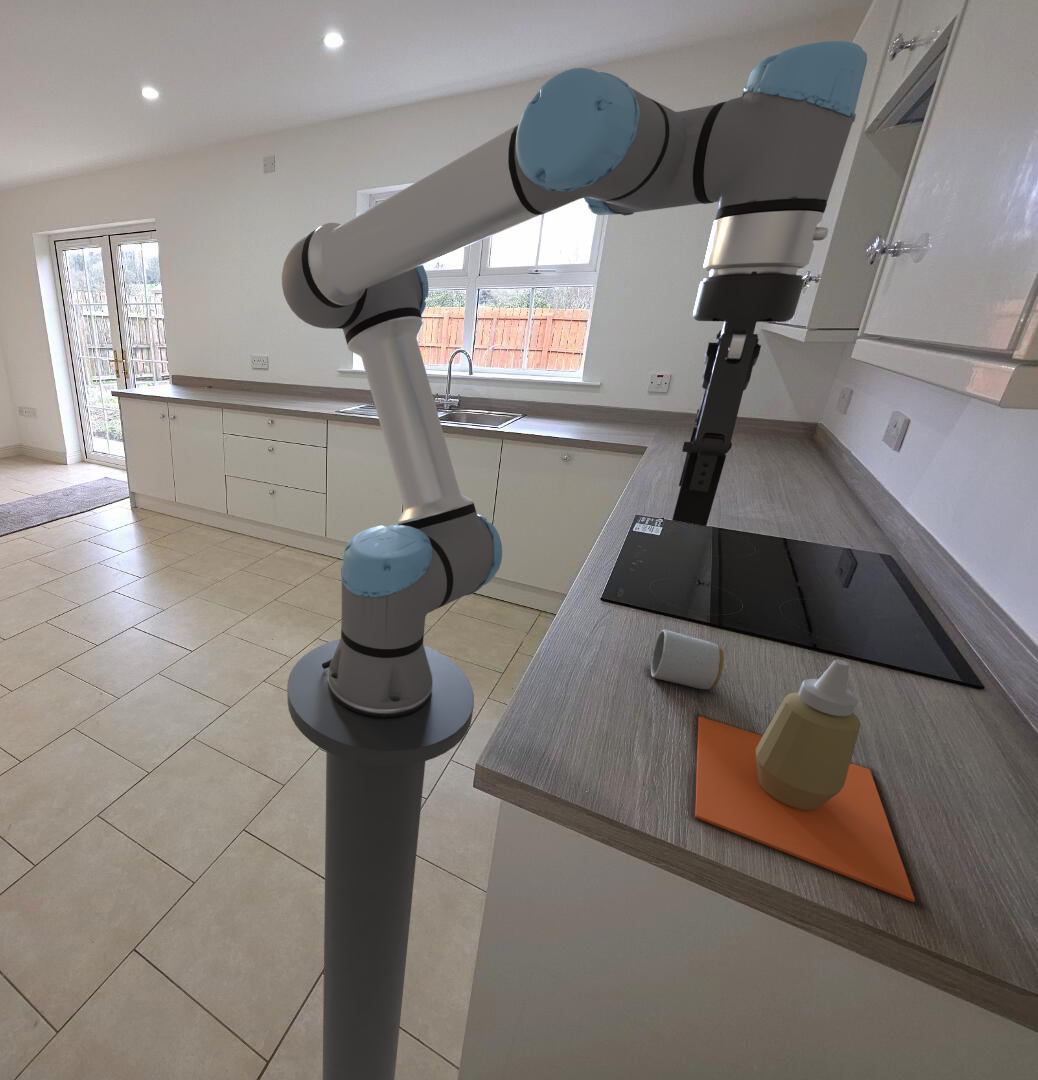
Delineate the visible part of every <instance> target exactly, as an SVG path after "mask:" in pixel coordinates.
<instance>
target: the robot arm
mask: <svg viewBox="0 0 1038 1080" xmlns="http://www.w3.org/2000/svg"><path fill="white" fill-rule="evenodd" d="M867 63H868V53H867V52H866V51H864V49H863V48H862V47H861V45H860V44H857V43H856V42H851V41H846V40H827V41H826V40H825V41H819V42H811V43H807V44H802V45H798V46H794V47H791V48H787V49H784V50H782V51H781V52H780V53H779V54H774V55H771V56H768V57H766V58H763V60H761V61H760V62H759V63H758V64H757V65H755V67H754V68H753V69H752V71H751V72H750V74H749V75H748V80H747V84H746V85H745V86H744V87H743V90H742V95H741V96H739V97H734V98H731V99H728V100H727V101H726V100H725V101H722V102H718V103H715V104H710V105H705V106H700V107H696V108H691V109H685V110H681V111H676V110H673V109H672V108H670V107H668V106H666V105H664V104H661V103H660V102H658V101H656V100H655V99H652V98H650V97H648V96H646V95H645V94H643V93H641V92H639V91H638V90H636V89H635V88H632V86H630V85H629V84H628V83H627V82H626V81H624V80H623V79H621V78H620V77H618V76H617V75H614V74H612V73H608V72H604V71H597V70H595V69H592V68H585V67H574V68H570V69H567V70H564V71H562V72H559V73H558V74H556V75H554V76H552V77H551V78H549V80H547V81H546V82H545V83H544V84H542V85H541V86H540V88H539V91H537V93H536V94H535V95H534V97H533V98H532V99H531V101H530V102H528V103H527V105H526V107H525V109H524V110H523V112H522V115H521V118H520V121H519V123H517V124H516V125H514V126H513V127H510V128H509V129H507V130H505V131H503V132H501V133H500V134H498V135H497V136H495V137H493V138H491V139H490V140H488V141H485V142H484V143H482V144H481V145H479V146H477V147H476V148H474V149H472V150H471V151H468V152H467V153H465V154H463V155H462V156H460V157H458V158H456V159H455V160H453V161H451V162H449V163H448V164H446V165H444V166H442V167H441V168H439V169H437V170H435V171H433V172H431V173H430V174H428V175H426V176H425V177H423V178H421V179H419V180H418V181H416V182H414V183H413V184H411V185H409V186H407V187H406V188H404V189H402V190H400V191H399V192H397V193H395V194H393V195H392V196H390V197H388V198H386V199H385V200H383V201H381V202H380V203H377V204H376V205H374V206H372V207H370V208H369V209H367V210H365V211H364V212H362V213H360V214H358V215H357V216H355V217H353V218H351V219H350V220H348V221H346V222H344V223H343V224H341V223H338V222H327V223H324V224H322V225H321V226H319V227H317V228H316V229H314V230H312V231H310V232H308V233H307V234H306V235H304V236H303V237H301V239H299V240H298V241H297V242H296V243H295V244H294V245H293V246H292V248H291V249H290V250H289V251H288V254H287V255H286V258H285V260H284V262H283V267H282V272H281V288H282V292H283V296H284V299H285V301H286V303H287V305H288V306H289V308H290V310H291V311H292V312H293V313H294V315H295V316H296V317H297V318H298V319H300V320H301V321H303V322H304V323H305V324H308V325H310V326H312V327H315V328H320V329H330V330H331V329H334V330H335V329H338V330H342V331H343V336H344V339H345V342H346V346H347V349H348V351H350V352H351V353H353V354H355V355H357V356H359V357H360V358H361V361H362V366H363V370H364V372H365V375H366V379H367V382H368V386H369V389H370V393H371V396H372V400H373V404H374V407H375V411H376V415H377V418H378V421H379V425H380V429H381V432H382V436H383V439H384V443H385V446H386V450H387V452H388V453H387V454H388V456H389V460H390V464H391V467H392V471H393V474H394V477H395V481H396V484H397V488H398V491H399V496H400V498H401V502H402V505H403V506H402V507H403V510H402V513H401V515H400V516H399V518H398V520H397V524H389V525H388V526H384V525H377V526H372V527H370V528H369V527H368V528H366V529H363V530H362V531H360V532H358V533H357V534H355V535H354V536H352V537H351V538H350V539H349V541H348V542H347V544H346V546H345V548H344V549H343V556H342V557H343V558H342V564H341V568H340V578H341V617H340V618H341V620H340V621H341V622H340V625H341V626H340V631H341V632H340V638H339V639H340V641H339V644H338V646H337V649H336V651H335V653H334V656H333V658H332V659H331V660H329V661H327V662H325V663H322V667H323V668H324V669H326V668H328V667H329V670H328V689H329V692H330V694H331V696H332V697H333V699H334V700H335V701H336V702H337V703H338V704H340V705H341V706H342V707H344V708H345V709H347V710H349V711H351V712H353V713H356V714H358V715H362V716H365V717H370V718H377V719H393V718H400V717H404V716H408V715H411V714H413V713H415V712H417V711H419V710H420V709H422V708H423V707H424V706H425V705H426V704H427V703H428V701H429V700H430V697H431V694H432V685H433V679H432V673H431V670H430V666H429V662H428V659H427V655H426V652H425V648H424V646H425V644H424V636H425V627H426V626H425V625H426V617H427V615H428V614H430V613H431V612H434V611H435V610H438V609H440V608H443V607H444V606H446V605H448V604H450V603H452V602H455V601H457V600H459V599H461V598H463V597H465V596H469V595H472V594H474V593H476V592H477V591H480V589H481V588H482V587H484V586H485V585H487V584H489V583H490V582H491V581H492V580H493V579H494V578H495V577H496V575H497V573H498V571H499V569H500V567H501V564H502V560H503V559H502V558H503V545H502V540H501V536H500V534H499V532H498V530H497V528H496V527H495V525H494V524H493V523H492V522H489V521H488V519H487V517H485V516H483V515H481V514H478V513H477V508H476V506H475V502H474V500H473V499H471V498H470V497H467V496H466V495H464V494H462V493H461V491H460V489H459V483H458V480H457V476H456V474H455V473H456V472H455V470H454V465H453V463H452V460H451V456H450V452H449V449H448V445H447V442H446V438H445V434H444V431H443V428H442V427H443V426H442V424H441V420H440V417H439V413H438V409H437V406H436V402H435V398H434V395H433V392H432V388H431V385H430V381H429V377H428V373H427V371H426V366H425V363H424V359H423V356H422V352H421V349H420V345H419V341H418V335H419V334H420V332H421V330H422V328H423V326H424V320H423V313H424V311H425V309H426V306H427V302H426V299H427V298H428V297H429V291H430V289H429V280H428V274H427V272H426V269H425V267H424V265H425V264H427V263H430V262H432V261H435V260H437V259H440V258H442V257H444V256H447V255H449V254H451V253H454V252H456V251H459V250H461V249H464V248H466V247H468V246H471V245H472V244H475V243H477V242H479V241H482V240H485V239H487V238H489V237H492V236H494V235H496V234H498V233H501V232H503V231H505V230H508V229H510V228H513V227H516V226H518V225H521V224H523V223H525V222H527V221H529V220H532V219H534V218H536V217H539V216H542V215H544V214H547V213H549V212H552V211H554V210H556V209H559V208H562V207H565V206H567V205H568V204H572V203H574V202H575V201H578V200H581V199H583V201H584V203H586V204H587V208H588V210H589V211H590V212H591V213H593V214H594V215H598V216H609V215H610V216H611V215H621V216H624V217H625V216H631V215H634V214H635V213H641V212H649V211H655V210H657V211H658V210H663V209H672V208H679V207H686V206H694V205H700V204H702V205H708V204H714V203H718V209H717V211H716V214H715V220H714V221H713V224H712V228H711V233H710V237H709V240H708V244H707V245H708V246H707V249H706V254H705V257H704V258H705V259H704V262H703V269H704V270H705V271H707V272H709V275H708V276H707V277H704V278H703V280H702V281H700V282H699V286H698V291H697V294H696V298H695V304H694V308H693V312H692V317H693V320H694V321H697V322H723V326H722V329H719V331H718V333H716V338H715V340H716V342H710V341H709V342H708V343H707V347H706V351H705V354H704V359H703V363H704V365H705V367H704V370H703V374H702V377H701V379H702V381H701V388H702V389H703V394H702V397H701V401H700V405H699V408H697V411H696V415H697V416H696V417H695V419H694V423H695V426H693V427H692V432H691V436H690V440H689V441H684V443H683V446H682V449H681V452H682V453H686V456H685V459H684V463H683V467H682V472H681V475H680V479H679V482H678V487H680V488H679V492H678V495H677V499H676V504H675V506H674V511H673V515H672V519H671V521H672V522H677V523H678V522H679V523H684V524H689V525H696V526H703V527H707V526H708V523H709V522H708V521H709V518H710V515H711V511H712V507H713V504H714V501H715V498H716V493H717V490H718V487H719V482H720V479H721V475H722V472H723V469H724V465H725V462H726V458H727V454H728V453H729V452H730V450H731V449H732V447H733V442H732V438H733V435H734V430H735V427H736V422H737V418H738V414H739V410H740V406H741V403H742V398H743V395H744V391H745V390H747V388H748V385H749V383H750V380H751V376H752V372H753V368H754V366H755V365H756V364H757V361H758V358H759V357H760V354H761V353H760V352H761V347H762V345H761V344H759V341H760V340H759V334H758V333H755V330H756V326H757V323H786V322H788V321H790V320H792V319H793V318H794V316H795V314H796V310H797V308H798V304H799V301H800V298H801V294H802V291H803V287H804V284H805V281H806V280H805V279H804V278H803V277H804V276H803V275H799V274H797V273H798V271H799V269H804V268H805V267H807V266H808V265H809V264H810V261H811V257H812V255H813V251H814V248H815V244H814V241H823V240H825V239H826V238H827V236H828V233H829V228H828V227H824V226H818V224H820V223H821V222H822V221H823V216H824V213H825V212H826V208H827V205H828V201H829V198H830V195H831V192H832V189H833V184H834V182H835V178H836V175H837V172H838V169H839V166H840V163H841V160H842V157H843V153H844V149H845V147H846V144H847V141H848V138H849V135H850V132H851V129H852V127H853V124H854V122H855V121H856V117H857V114H856V110H857V109H856V108H857V106H858V100H859V98H860V97H859V96H860V93H861V88H862V85H863V79H864V77H865V71H866V67H867Z"/></svg>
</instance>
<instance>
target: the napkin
mask: <svg viewBox="0 0 1038 1080" xmlns="http://www.w3.org/2000/svg"><path fill="white" fill-rule="evenodd" d="M697 720H698V721H697V722H698V723H697V749H696V751H697V752H696V776H695V779H696V780H695V807H694V809H695V810H694V818H695V819H698V820H701V821H703V822H706V823H707V824H711V825H712V826H715V827H718V828H721V829H724V830H726V831H728V832H731V833H733V834H736V835H739V836H740V837H741V836H742V837H744V838H747V839H749V840H751V841H754V842H757V843H760V844H762V845H764V846H767V847H770V848H772V849H775V850H777V851H779V852H782V853H785V854H788V855H790V856H793V857H795V858H798V859H800V860H803V861H806V862H808V863H811V864H813V865H816V866H818V867H821V868H824V869H826V870H829V871H831V872H833V873H837V874H839V875H842V876H844V877H847V878H850V879H852V880H855V881H856V882H860V883H862V884H865V885H867V886H869V887H873V888H875V889H878V890H880V891H883V892H885V893H888V894H891V895H893V896H896V897H898V898H901V899H904V900H906V901H908V902H911V903H915V901H916V898H915V895H914V892H913V890H912V887H911V883H910V880H909V879H908V875H907V873H906V870H905V865H904V864H903V861H902V858H901V855H900V852H899V850H898V846H897V843H896V841H895V838H894V835H893V832H892V829H891V826H890V823H889V821H888V817H887V815H886V811H885V808H884V806H883V802H882V801H881V800H882V799H881V797H880V795H879V792H878V789H877V786H876V783H875V780H874V777H873V774H872V770H871V769H870V768H867V767H865V766H861V765H857V764H854V763H851V762H850V766H849V769H848V773H847V777H846V780H845V784H844V787H843V788H842V789H841V791H840V792H839V793H838V794H836V795H835V796H834V797H832V798H831V799H829V800H828V801H827V802H825V803H824V804H822V805H821V806H820V807H818V808H817V809H812V810H804V809H797V808H794V807H792V806H789V805H786V804H784V803H782V802H780V801H778V800H777V799H775V798H773V797H772V796H771V795H769V794H768V793H767V792H766V791H765V790H764V789H763V788H762V787H761V785H760V784H759V782H758V772H757V762H756V750H755V749H756V747H757V746H758V744H759V742H760V740H761V739H762V737H763V735H760V734H758V733H756V732H755V733H754V732H751V731H748V730H744V729H742V728H739V727H735V726H732V725H729V724H726V723H722V722H720V721H717V720H714V719H713V720H712V719H709V718H706V717H703V716H700V715H699V716H698V719H697Z"/></svg>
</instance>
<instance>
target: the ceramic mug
mask: <svg viewBox="0 0 1038 1080" xmlns="http://www.w3.org/2000/svg"><path fill="white" fill-rule="evenodd" d="M724 653H725V652H724V651H723V648H722V647H721V646H720V645H718V644H716V643H714V642H711V641H708V640H705V639H702V638H696V637H693V636H689V635H687V634H682V633H680V632H675V631H672V630H668V629H663V630H661V631H660V632H659V634H658V636H657V638H656V641H655V644H654V647H653V652H652V658H651V664H650V674H651V677H652V678H654V679H656V680H661V681H665V682H668V683H673V684H678V685H682V686H687V687H691V688H695V689H698V690H713V689H715V688H716V687H717V685H718V684H719V682H720V680H721V677H722V675H723V672H724V671H723V670H724V666H725V654H724Z"/></svg>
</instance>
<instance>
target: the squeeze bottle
mask: <svg viewBox="0 0 1038 1080" xmlns="http://www.w3.org/2000/svg"><path fill="white" fill-rule="evenodd" d="M849 668H850V664H849V662H848V661H845V660H842V659H839V658H838V659H837V658H835V659H834V660H833V661H832V662H831V664H830V665H829V666H828V667H827V669H826V670H825V671H824V672H823V674H821V676H820V677H819V678H806V679H804V680H803V681H802V682H801V685H800V687H799V690H798V691H797V692H791V693H788V694H787V695H786V696H784V698H783V700H782V701H781V704H780V705H779V707H778V709H777V711H776V712H775V714H774V715H773V717H772V719H771V721H770V722H769V725H768V726H767V728H766V730H765V732H764V733H763V735H762V736H763V737H762V739H761V740H760V742H759V744H758V746H757V747H756V749H755V750H756V762H757V772H758V782H759V784H760V785H761V787H762V788H763V789H764V790H765V791H766V792H767V793H768V794H769V795H771V796H772V797H773V798H775V799H777V800H778V801H780V802H782V803H784V804H786V805H789V806H792V807H794V808H797V809H804V810H812V809H817V808H818V807H820V806H821V805H822V804H824V803H825V802H827V801H828V800H829V799H831V798H832V797H834V796H835V795H836V794H838V793H839V792H840V791H841V789H842V788H843V787H844V784H845V780H846V777H847V773H848V769H849V766H850V763H851V761H852V758H853V755H854V751H855V747H856V744H857V740H858V738H859V737H858V736H859V733H860V729H861V726H862V724H861V722H860V718H859V717H858V716H857V715H856V714H855V713H854V711H855V710H856V707H857V705H858V703H859V700H858V697H857V695H856V694H855V693H853V692H852V691H851V690H849V689H848V684H849V683H848V681H849V671H850V670H849Z"/></svg>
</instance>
